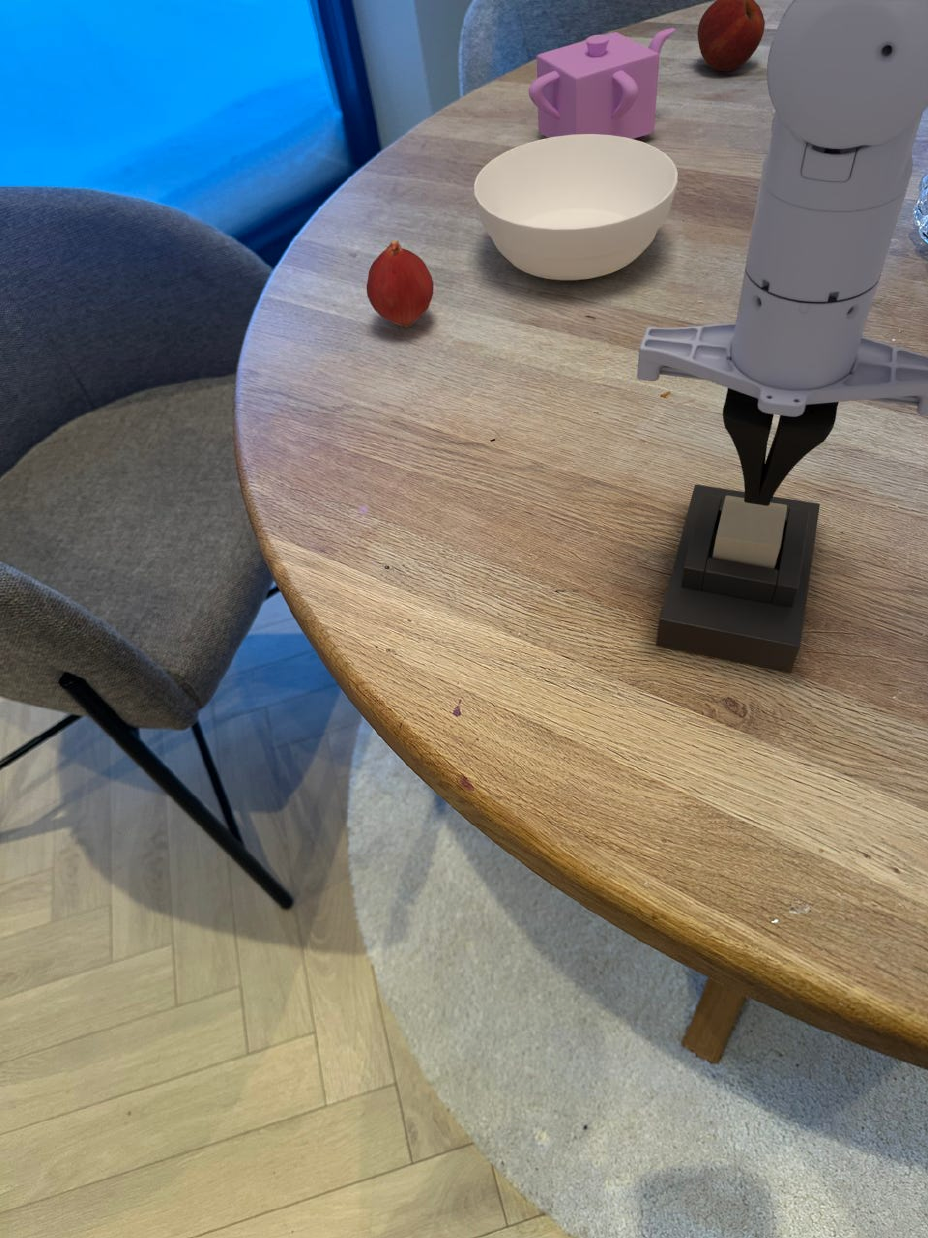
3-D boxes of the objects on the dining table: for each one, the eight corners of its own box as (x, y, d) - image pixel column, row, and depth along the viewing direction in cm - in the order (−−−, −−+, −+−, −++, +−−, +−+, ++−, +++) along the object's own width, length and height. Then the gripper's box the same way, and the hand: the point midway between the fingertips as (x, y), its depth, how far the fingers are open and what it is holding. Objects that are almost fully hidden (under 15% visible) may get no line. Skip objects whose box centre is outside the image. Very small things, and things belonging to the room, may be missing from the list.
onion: (363, 336, 77) (344, 251, 71) (395, 302, 80) (380, 218, 74) (418, 349, 75) (404, 263, 69) (449, 314, 78) (438, 228, 72)
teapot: (637, 98, 103) (643, -1, 95) (705, 138, 95) (718, 33, 87) (505, 140, 99) (500, 40, 91) (564, 184, 91) (564, 79, 83)
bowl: (711, 246, 80) (721, 167, 75) (576, 331, 74) (576, 252, 68) (572, 191, 90) (572, 117, 84) (441, 262, 84) (432, 187, 78)
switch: (721, 517, 53) (725, 494, 52) (781, 527, 52) (787, 504, 51) (712, 558, 51) (716, 536, 50) (774, 569, 50) (780, 547, 49)
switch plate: (690, 512, 59) (698, 463, 56) (810, 532, 57) (826, 482, 54) (655, 645, 53) (662, 599, 49) (790, 674, 50) (807, 627, 47)
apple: (730, 85, 103) (741, 7, 96) (679, 72, 107) (686, -4, 100) (768, 65, 105) (780, -13, 99) (717, 52, 109) (726, -23, 103)
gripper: (630, 301, 38) (616, 519, 48) (995, 337, 34) (892, 566, 44) (662, 222, 42) (643, 439, 52) (991, 246, 37) (898, 476, 48)
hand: (758, 492), depth 48 cm, fingers closed
